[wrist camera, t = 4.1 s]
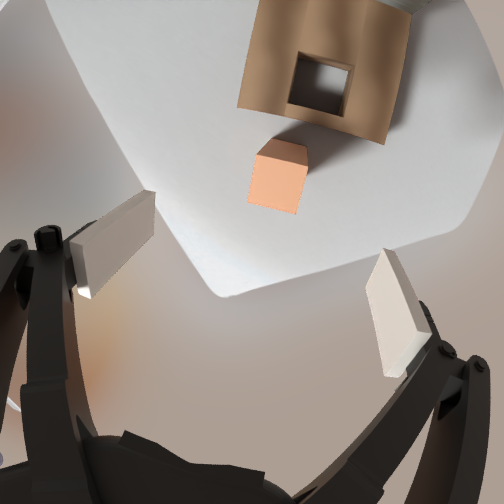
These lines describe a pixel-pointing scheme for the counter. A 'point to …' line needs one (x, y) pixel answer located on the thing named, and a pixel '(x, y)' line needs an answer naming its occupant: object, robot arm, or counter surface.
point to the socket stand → (330, 59)
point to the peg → (279, 176)
